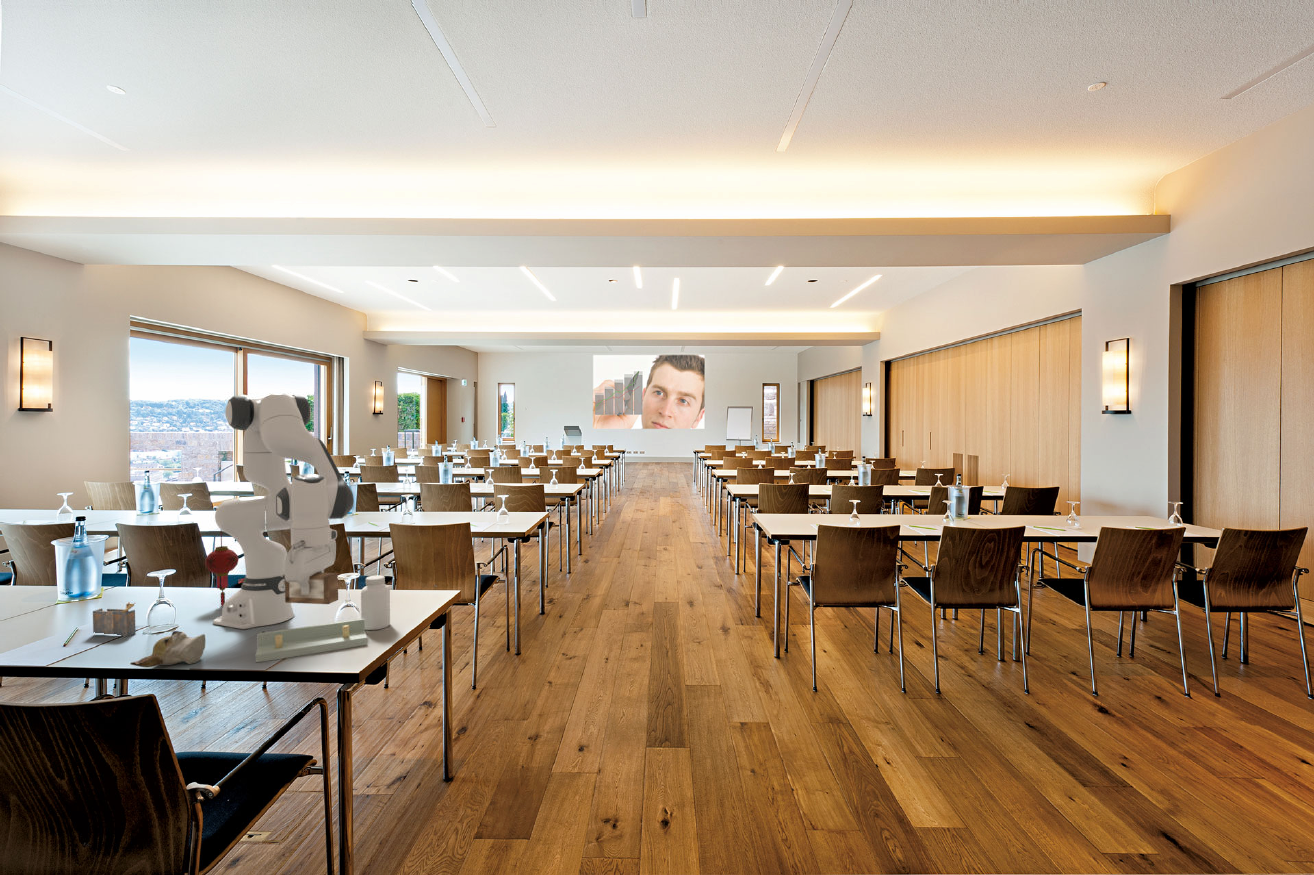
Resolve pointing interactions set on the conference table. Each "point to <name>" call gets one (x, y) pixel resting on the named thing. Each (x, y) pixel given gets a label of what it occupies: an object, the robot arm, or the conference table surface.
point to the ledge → (310, 640)
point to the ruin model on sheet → (115, 621)
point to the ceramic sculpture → (174, 650)
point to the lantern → (221, 566)
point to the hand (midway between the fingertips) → (311, 590)
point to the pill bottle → (375, 603)
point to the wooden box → (314, 590)
